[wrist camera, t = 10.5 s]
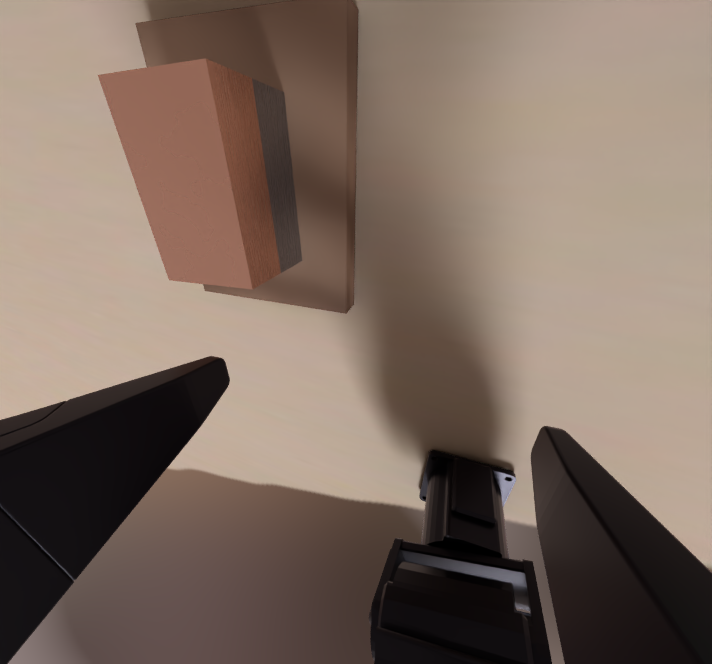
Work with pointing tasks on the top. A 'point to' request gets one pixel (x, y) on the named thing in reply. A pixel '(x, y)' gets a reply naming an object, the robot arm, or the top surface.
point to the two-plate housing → (210, 170)
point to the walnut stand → (292, 123)
